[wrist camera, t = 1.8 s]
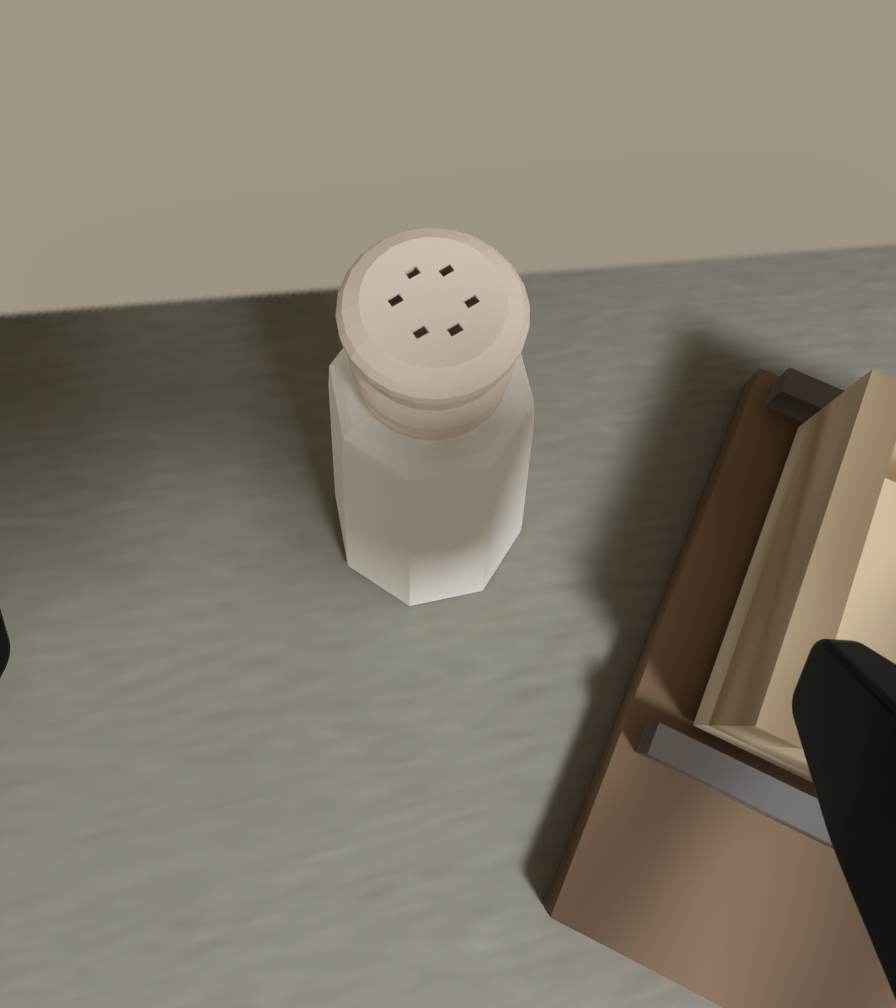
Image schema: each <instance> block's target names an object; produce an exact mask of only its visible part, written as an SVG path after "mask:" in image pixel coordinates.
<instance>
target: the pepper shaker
mask: <svg viewBox="0 0 896 1008" xmlns="http://www.w3.org/2000/svg"><path fill="white" fill-rule="evenodd" d="M335 316H336V321H337V326H338V332H339V337H340V340H341V343H342V346H343V349H342V350H341V351H340V353H339V354H338V355H337V356H336V358H335V359H334V360H333V362H332V363H331V364H330V365H329V381H328V386H329V403H330V419H331V435H332V451H333V467H334V484H335V497H336V503H337V508H338V514H339V520H340V525H341V531H342V536H343V542H344V548H345V553H346V559H347V564H348V566H349V567H351V568H352V569H354V570H355V571H357V572H358V573H360V574H361V575H363V576H365V577H366V578H368V579H369V580H371V581H372V582H374V583H375V584H377V585H378V586H380V587H381V588H383V589H384V590H386V591H387V592H389V593H390V594H392V595H394V596H395V597H397V598H398V599H400V600H401V601H403V602H404V603H406V604H407V605H409V606H412V605H417V604H421V603H426V602H431V601H436V600H440V599H445V598H450V597H455V596H460V595H464V594H469V593H474V592H479V591H483V589H484V588H485V586H486V585H487V583H488V582H489V580H490V578H491V577H492V575H493V574H494V572H495V571H496V569H497V567H498V566H499V564H500V563H501V561H502V560H503V558H504V556H505V555H506V553H507V552H508V550H509V549H510V547H511V545H512V544H513V542H514V541H515V539H516V538H517V536H518V534H519V533H520V531H521V527H522V519H523V510H524V502H525V493H526V485H527V476H528V468H529V459H530V451H531V443H532V434H533V426H534V401H533V397H532V392H531V389H530V385H529V381H528V378H527V374H526V370H525V367H524V363H523V359H522V356H521V351H522V349H523V346H524V343H525V340H526V336H527V333H528V330H529V320H530V304H529V301H528V297H527V294H526V290H525V287H524V284H523V282H522V280H521V279H520V277H519V275H518V274H517V272H516V271H515V269H514V267H513V266H512V264H511V263H510V262H509V261H508V260H506V259H505V258H504V257H503V256H502V255H501V254H500V253H499V252H498V251H497V250H496V249H495V248H493V247H491V246H489V245H488V244H486V243H484V242H482V241H481V240H479V239H477V238H475V237H474V236H471V235H467V234H464V233H461V232H457V231H454V230H450V229H437V228H423V229H417V230H410V231H404V232H401V233H399V234H396V235H394V236H391V237H389V238H386V239H384V240H382V241H379V242H378V243H377V244H375V245H374V246H373V247H371V248H370V249H368V250H367V251H366V252H364V253H363V254H362V255H361V256H360V257H359V258H358V259H357V260H356V262H355V263H354V264H353V265H352V267H351V268H350V269H349V270H348V272H347V273H346V275H345V278H344V280H343V283H342V285H341V287H340V289H339V292H338V297H337V306H336V315H335Z"/></svg>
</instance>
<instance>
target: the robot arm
mask: <svg viewBox="0 0 896 1008" xmlns="http://www.w3.org/2000/svg"><path fill="white" fill-rule="evenodd" d="M9 655H10V641H9V637H8V634H7V630H6V627H5V623H4V620H3V616H2V613H1V610H0V678H1V676H2V674H3V672H4V670H5V668H6V665H7V663H8V659H9ZM792 713H793V718H794V721H795V725H796V728H797V731H798V735H799V738H800V741H801V745H802V748H803V752H804V755H805V758H806V762H807V765H808V768H809V772H810V775H811V778H812V782H813V785H814V788H815V792H816V795H817V799H818V802H819V805H820V809H821V812H822V815H823V819H824V822H825V825H826V828H827V831H828V834H829V837H830V840H831V843H832V846H833V849H834V851H835V854H836V857H837V859H838V862H839V864H840V867H841V869H842V872H843V874H844V877H845V879H846V882H847V884H848V886H849V889H850V891H851V894H852V896H853V898H854V901H855V903H856V906H857V908H858V911H859V913H860V915H861V918H862V920H863V923H864V925H865V927H866V930H867V932H868V935H869V937H870V940H871V942H872V944H873V947H874V949H875V952H876V954H877V956H878V959H879V961H880V964H881V966H882V969H883V971H884V973H885V976H886V978H887V981H888V983H889V985H890V988H891V990H892V993H893V995H894V997H895V1000H896V664H895V663H893V662H892V661H890V660H888V659H887V658H885V657H883V656H882V655H880V654H878V653H877V652H875V651H874V650H872V649H870V648H869V647H867V646H865V645H864V644H862V643H860V642H857V641H853V640H838V639H821V640H818V641H817V642H816V643H815V644H814V645H813V646H812V648H811V650H810V652H809V655H808V657H807V660H806V662H805V665H804V667H803V670H802V672H801V675H800V677H799V680H798V682H797V685H796V687H795V690H794V693H793V697H792Z"/></svg>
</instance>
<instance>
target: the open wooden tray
mask: <svg viewBox="0 0 896 1008" xmlns="http://www.w3.org/2000/svg"><path fill="white" fill-rule="evenodd" d="M843 392H844V391H843V390H841V389H839V388H836V387H834V386H831V385H829V384H827V383H824V382H822V381H820V380H817V379H815V378H813V377H810V376H808V375H806V374H803V373H801V372H798V371H796V370H794V369H791V368H789V369H788V370H787V371H786V372H785V373H784V374H783V375H782V376H781V377H778V376H776V375H774V374H771V373H769V372H767V371H764V370H762V369H759V370H758V371H757V373H756V374H755V375H754V376H753V377H752V378H751V379H750V380H749V381H748V382H747V383H746V384H745V387H744V389H743V392H742V394H741V397H740V400H739V402H738V405H737V407H736V410H735V412H734V415H733V418H732V420H731V423H730V425H729V428H728V431H727V433H726V436H725V438H724V441H723V444H722V446H721V449H720V451H719V454H718V456H717V459H716V462H715V464H714V467H713V469H712V472H711V475H710V477H709V480H708V482H707V485H706V488H705V490H704V493H703V495H702V498H701V501H700V503H699V506H698V508H697V511H696V513H695V516H694V519H693V521H692V524H691V526H690V529H689V532H688V534H687V537H686V539H685V542H684V545H683V547H682V550H681V552H680V555H679V557H678V560H677V563H676V565H675V568H674V570H673V573H672V576H671V578H670V581H669V583H668V586H667V589H666V591H665V594H664V596H663V599H662V601H661V604H660V607H659V609H658V612H657V614H656V617H655V620H654V622H653V625H652V627H651V630H650V633H649V635H648V638H647V640H646V643H645V646H644V648H643V651H642V653H641V656H640V658H639V661H638V664H637V666H636V669H635V671H634V674H633V677H632V679H631V682H630V684H629V687H628V690H627V692H626V695H625V697H624V700H623V702H622V705H621V708H620V710H619V713H618V715H617V718H616V721H615V723H614V726H613V728H612V731H611V734H610V736H609V739H608V741H607V744H606V746H605V749H604V752H603V754H602V757H601V759H600V762H599V765H598V767H597V770H596V772H595V775H594V778H593V780H592V783H591V785H590V788H589V791H588V793H587V796H586V798H585V801H584V803H583V806H582V809H581V811H580V814H579V816H578V819H577V822H576V824H575V827H574V829H573V832H572V835H571V837H570V840H569V842H568V845H567V847H566V850H565V853H564V855H563V858H562V860H561V863H560V866H559V868H558V871H557V873H556V876H555V879H554V881H553V884H552V886H551V889H550V891H549V894H548V897H547V899H546V902H545V904H544V908H545V910H546V911H547V913H548V914H549V916H550V917H551V918H553V919H555V920H557V921H559V922H561V923H562V924H564V925H566V926H568V927H570V928H572V929H574V930H576V931H578V932H580V933H582V934H584V935H586V936H587V937H589V938H591V939H593V940H595V941H597V942H599V943H601V944H603V945H605V946H607V947H609V948H611V949H613V950H614V951H616V952H618V953H620V954H622V955H624V956H626V957H628V958H630V959H632V960H634V961H636V962H638V963H639V964H641V965H643V966H645V967H647V968H649V969H651V970H653V971H655V972H657V973H659V974H661V975H663V976H665V977H666V978H668V979H670V980H672V981H674V982H676V983H678V984H680V985H682V986H684V987H686V988H688V989H690V990H691V991H693V992H695V993H697V994H699V995H701V996H703V997H705V998H707V999H709V1000H711V1001H713V1002H715V1003H716V1004H718V1005H720V1006H722V1007H724V1008H896V1000H895V997H894V995H893V993H892V990H891V988H890V985H889V983H888V981H887V978H886V976H885V973H884V971H883V969H882V966H881V964H880V961H879V959H878V956H877V954H876V952H875V949H874V947H873V944H872V942H871V940H870V937H869V935H868V932H867V930H866V927H865V925H864V923H863V920H862V918H861V915H860V913H859V911H858V908H857V906H856V903H855V901H854V898H853V896H852V894H851V891H850V889H849V886H848V884H847V882H846V879H845V877H844V874H843V872H842V869H841V867H840V864H839V862H838V859H837V857H836V854H835V851H834V849H833V846H832V843H831V840H830V837H829V834H828V831H827V828H826V825H825V822H824V819H823V815H822V812H821V809H820V805H819V802H818V799H817V795H816V792H815V788H814V785H813V783H812V782H810V781H808V780H806V779H804V778H802V777H800V776H798V775H795V774H793V773H791V772H789V771H787V770H785V769H783V768H781V767H779V766H777V765H775V764H773V763H771V762H768V761H766V760H764V759H762V758H760V757H758V756H756V755H754V754H752V753H750V752H748V751H746V750H744V749H741V748H739V747H737V746H735V745H733V744H731V743H729V742H727V741H725V740H723V739H721V738H719V737H717V736H714V735H712V734H710V733H708V732H706V731H704V730H702V729H700V728H698V727H696V726H694V725H693V724H694V721H695V718H696V715H697V712H698V709H699V707H700V704H701V701H702V698H703V695H704V692H705V690H706V687H707V684H708V681H709V678H710V675H711V673H712V670H713V667H714V664H715V661H716V658H717V656H718V653H719V650H720V647H721V644H722V642H723V639H724V636H725V633H726V630H727V627H728V625H729V622H730V619H731V616H732V613H733V610H734V608H735V605H736V602H737V599H738V596H739V593H740V591H741V588H742V585H743V582H744V579H745V576H746V574H747V571H748V568H749V565H750V562H751V560H752V557H753V554H754V551H755V548H756V545H757V543H758V540H759V537H760V534H761V531H762V528H763V526H764V523H765V520H766V517H767V514H768V511H769V509H770V506H771V503H772V500H773V497H774V494H775V492H776V489H777V486H778V483H779V480H780V478H781V475H782V472H783V469H784V466H785V463H786V461H787V458H788V455H789V452H790V449H791V446H792V444H793V441H794V438H795V435H796V432H797V429H798V427H799V426H801V425H802V424H803V423H804V422H806V421H807V420H808V419H810V418H811V417H812V416H813V415H815V414H816V413H817V412H819V411H820V410H821V409H822V408H824V407H825V406H826V405H828V404H829V403H830V402H831V401H833V400H834V399H835V398H837V397H838V396H839V395H840V394H842V393H843Z"/></svg>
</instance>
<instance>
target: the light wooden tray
mask: <svg viewBox="0 0 896 1008" xmlns="http://www.w3.org/2000/svg"><path fill="white" fill-rule="evenodd" d="M821 639H838V640H853V641H857V642H860V643H862V644H864V645H865V646H867V647H869V648H870V649H872V650H874V651H875V652H877V653H878V654H880V655H882V656H883V657H885V658H887V659H888V660H890V661H892V662H893V663H895V664H896V379H894V378H891V377H889V376H886V375H884V374H882V373H879V372H877V371H875V370H871V371H870V372H869V373H867V374H866V375H865V376H864V377H862V378H861V379H860V380H858V381H857V382H856V383H855V384H853V385H852V386H851V387H849V388H848V389H847V390H846V391H844V392H843V393H842V394H840V395H839V396H838V397H837V398H835V399H834V400H833V401H831V402H830V403H829V404H828V405H826V406H825V407H824V408H822V409H821V410H820V411H819V412H817V413H816V414H815V415H813V416H812V417H811V418H810V419H808V420H807V421H806V422H804V423H803V424H802V425H801V426H799V427H798V429H797V432H796V435H795V438H794V441H793V444H792V446H791V449H790V452H789V455H788V458H787V461H786V463H785V466H784V469H783V472H782V475H781V478H780V480H779V483H778V486H777V489H776V492H775V494H774V497H773V500H772V503H771V506H770V509H769V511H768V514H767V517H766V520H765V523H764V526H763V528H762V531H761V534H760V537H759V540H758V543H757V545H756V548H755V551H754V554H753V557H752V560H751V562H750V565H749V568H748V571H747V574H746V576H745V579H744V582H743V585H742V588H741V591H740V593H739V596H738V599H737V602H736V605H735V608H734V610H733V613H732V616H731V619H730V622H729V625H728V627H727V630H726V633H725V636H724V639H723V642H722V644H721V647H720V650H719V653H718V656H717V658H716V661H715V664H714V667H713V670H712V673H711V675H710V678H709V681H708V684H707V687H706V690H705V692H704V695H703V698H702V701H701V704H700V707H699V709H698V712H697V715H696V718H695V721H694V724H693V725H694V726H696V727H698V728H700V729H702V730H704V731H706V732H708V733H710V734H712V735H714V736H717V737H719V738H721V739H723V740H725V741H727V742H729V743H731V744H733V745H735V746H737V747H739V748H741V749H744V750H746V751H748V752H750V753H752V754H754V755H756V756H758V757H760V758H762V759H764V760H766V761H768V762H771V763H773V764H775V765H777V766H779V767H781V768H783V769H785V770H787V771H789V772H791V773H793V774H795V775H798V776H800V777H802V778H804V779H806V780H808V781H810V782H812V778H811V775H810V772H809V768H808V765H807V762H806V758H805V755H804V752H803V748H802V745H801V741H800V738H799V735H798V731H797V728H796V725H795V721H794V718H793V713H792V697H793V693H794V690H795V687H796V685H797V682H798V680H799V677H800V675H801V672H802V670H803V667H804V665H805V662H806V660H807V657H808V655H809V652H810V650H811V648H812V646H813V645H814V644H815V643H816V642H817V641H818V640H821ZM812 783H813V782H812Z"/></svg>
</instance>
